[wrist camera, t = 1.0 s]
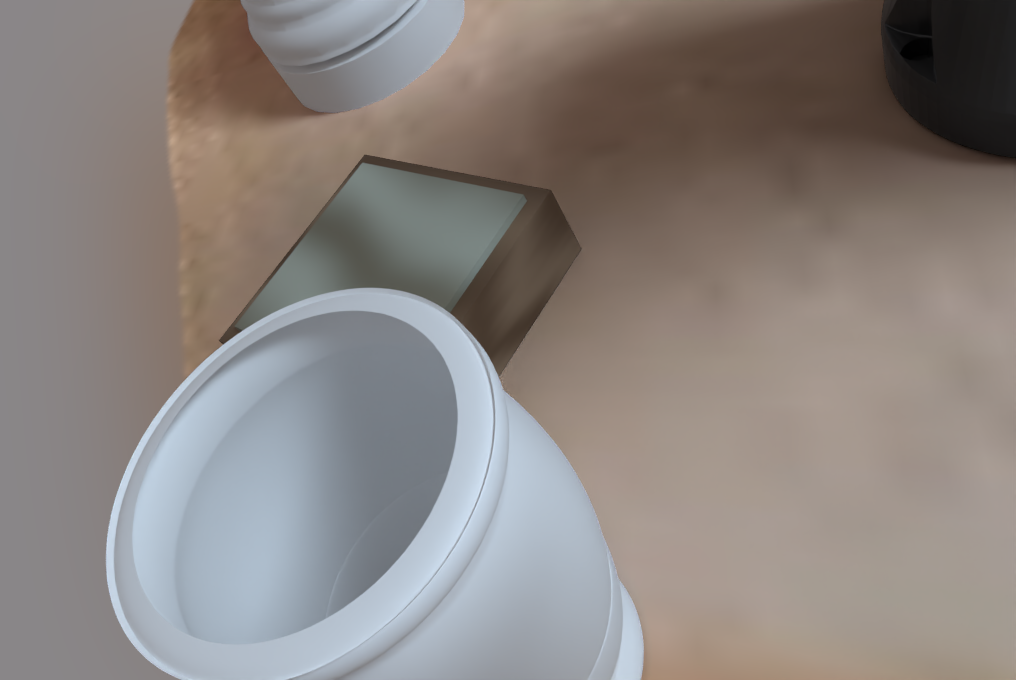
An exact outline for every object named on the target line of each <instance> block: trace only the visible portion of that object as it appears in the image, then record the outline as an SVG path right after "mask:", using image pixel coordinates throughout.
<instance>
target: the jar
mask: <svg viewBox="0 0 1016 680" xmlns="http://www.w3.org/2000/svg"><path fill="white" fill-rule="evenodd" d="M106 573H107V583H108V589H109V594H110V598H111V602H112V605H113V608H114V611H115V614H116V616H117V619H118V621H119V623H120V625H121V627H122V629H123V631H124V632H125V634H126V635H127V637H128V639H129V640H130V641H131V643H132V644H133V645H134V646H135V648H136V649H137V650H138V651H139V652H140V653H141V654H142V655H143V656H144V657H145V658H146V659H147V660H149V662H151V663H152V664H153V665H155V666H156V667H157V668H159V669H161V670H162V671H164V672H166V673H168V674H169V675H171V676H174V677H176V678H178V679H180V680H641V676H642V670H643V658H644V645H643V635H642V629H641V624H640V620H639V617H638V614H637V611H636V608H635V606H634V603H633V601H632V599H631V597H630V595H629V593H628V592H627V590H626V589H625V587H624V586H623V584H622V583H621V581H620V580H619V579H618V575H617V572H616V568H615V565H614V562H613V559H612V556H611V553H610V551H609V548H608V546H607V544H606V541H605V539H604V537H603V534H602V531H601V528H600V525H599V522H598V519H597V516H596V514H595V511H594V509H593V506H592V504H591V502H590V499H589V497H588V495H587V493H586V491H585V489H584V487H583V485H582V483H581V481H580V480H579V478H578V476H577V474H576V473H575V471H574V469H573V468H572V466H571V465H570V463H569V461H568V460H567V458H566V457H565V456H564V454H563V453H562V451H561V450H560V449H559V447H558V446H557V445H556V443H555V442H554V441H553V440H552V438H551V437H550V436H549V435H548V433H547V432H546V431H545V430H544V429H543V428H542V427H541V426H540V424H539V423H538V422H537V421H536V420H535V419H534V418H533V417H532V416H531V415H530V414H529V413H528V412H527V411H526V410H525V409H524V408H523V407H522V406H521V405H520V404H519V403H518V402H516V401H515V400H514V399H513V398H512V397H511V396H510V395H509V394H507V393H506V392H505V391H504V390H503V388H502V385H501V382H500V379H499V377H498V374H497V372H496V370H495V368H494V366H493V364H492V362H491V360H490V358H489V356H488V355H487V353H486V352H485V350H484V349H483V347H482V346H481V345H480V343H479V342H478V341H477V340H476V339H475V337H474V336H473V335H472V334H471V333H470V332H469V331H468V330H467V329H466V328H465V327H464V326H463V325H462V324H461V323H460V322H459V321H458V320H457V319H456V318H455V317H454V316H453V315H452V314H450V313H449V312H448V311H446V310H445V309H443V308H442V307H440V306H439V305H437V304H435V303H433V302H431V301H429V300H427V299H425V298H423V297H420V296H417V295H414V294H411V293H408V292H404V291H399V290H393V289H385V288H355V289H346V290H339V291H334V292H329V293H325V294H321V295H317V296H314V297H311V298H308V299H305V300H302V301H299V302H297V303H294V304H292V305H289V306H287V307H285V308H282V309H280V310H278V311H276V312H274V313H272V314H270V315H268V316H266V317H264V318H263V319H261V320H259V321H257V322H256V323H254V324H252V325H251V326H249V327H248V328H246V329H245V330H243V331H241V332H240V333H239V334H237V335H236V336H234V337H233V338H232V339H230V340H229V341H227V342H226V343H225V344H224V345H222V346H221V347H220V348H219V349H217V350H216V351H215V352H214V353H213V354H211V355H210V356H209V357H208V358H207V359H206V360H205V361H204V362H202V363H201V364H200V365H199V366H198V367H197V368H196V369H195V370H194V371H193V372H192V373H191V374H190V375H189V376H188V377H187V378H186V379H185V381H184V382H183V383H182V384H181V385H180V386H179V387H178V388H177V389H176V391H175V392H174V393H173V394H172V396H171V397H170V398H169V399H168V401H167V402H166V403H165V404H164V406H163V407H162V409H161V410H160V411H159V412H158V414H157V415H156V417H155V418H154V420H153V421H152V423H151V424H150V426H149V427H148V429H147V430H146V432H145V434H144V435H143V437H142V439H141V440H140V442H139V444H138V446H137V448H136V450H135V451H134V454H133V455H132V458H131V460H130V462H129V464H128V466H127V468H126V471H125V473H124V476H123V478H122V481H121V484H120V486H119V489H118V492H117V495H116V498H115V502H114V505H113V509H112V513H111V518H110V523H109V528H108V535H107V545H106Z"/></svg>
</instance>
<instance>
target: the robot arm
mask: <svg viewBox="0 0 1016 680" xmlns="http://www.w3.org/2000/svg"><path fill="white" fill-rule="evenodd" d="M881 35H882V44H883V53H884V62H885V70H886V75H887V79H888V82H889V85H890V87H891V89H892V91H893V93H894V95H895V97H896V98H897V100H898V101H899V103H900V104H901V105H902V106H903V108H904V109H905V110H906V111H907V112H908V113H909V114H910V115H911V116H912V117H913V118H915V119H916V120H917V121H918V122H919V123H921V124H922V125H924V126H925V127H927V128H928V129H930V130H931V131H933V132H935V133H937V134H938V135H940V136H942V137H944V138H946V139H949V140H951V141H953V142H956V143H958V144H961V145H963V146H966V147H970V148H973V149H976V150H980V151H983V152H987V153H992V154H996V155H1001V156H1007V157H1014V158H1016V0H885V1H884V4H883V10H882V20H881Z"/></svg>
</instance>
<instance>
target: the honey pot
mask: <svg viewBox="0 0 1016 680" xmlns="http://www.w3.org/2000/svg"><path fill="white" fill-rule="evenodd" d="M241 4H242V6H243V8H244V9H245V10H246V11H247V17H248V25H249V31H250V33H251V35H252V37H253V39H254V40H255V41H256V43H257V44H258V45H259V46H260V47H261V49H262V51H263V52H264V54H265V55H266V56H267V57H268V59H269V61H270V62H271V63H272V65H273V66H274V67H275V69H276V70H277V71H278V73H279V74H280V76H281V77H282V78H283V80H284V81H285V82H286V84H287V85H288V86H289V88H290V89H291V90H292V92H293V93H294V94H295V96H296V97H297V98H298V99H299V101H300V102H301V103H302V104H303V105H304V106H305V107H307V108H310V109H312V110H314V111H317V112H328V113H338V112H344V111H349V110H355V109H359V108H362V107H364V106H367V105H370V104H372V103H375V102H378V101H380V100H383V99H384V98H386V97H388V96H390V95H392V94H393V93H395V92H397V91H399V90H401V89H402V88H404V87H406V86H407V85H409V84H410V83H411V82H412V81H414V80H415V79H416V78H418V77H419V76H420V75H422V74H423V73H424V72H426V71H427V70H428V69H429V68H430V67H431V66H432V65H433V64H434V63H435V62H436V61H437V60H438V59H439V58H440V57H441V56H442V55H443V54H444V53H445V51H446V50H447V48H448V47H449V46H450V44H451V43H452V41H453V40H454V38H455V37H456V35H457V34H458V31H459V29H460V26H461V23H462V21H463V18H464V0H241Z"/></svg>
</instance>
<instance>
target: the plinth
mask: <svg viewBox="0 0 1016 680" xmlns="http://www.w3.org/2000/svg"><path fill="white" fill-rule="evenodd" d="M580 250H581V247H580V245H579V243H578V241H577V239H576V237H575V235H574V233H573V231H572V230H571V228H570V226H569V224H568V222H567V220H566V218H565V216H564V214H563V212H562V211H561V209H560V207H559V205H558V203H557V201H556V199H555V197H554V195H553V193H552V191H551V190H548V189H543V188H537V187H532V186H527V185H522V184H516V183H511V182H506V181H501V180H495V179H490V178H485V177H480V176H474V175H469V174H464V173H459V172H453V171H448V170H443V169H438V168H432V167H427V166H422V165H417V164H411V163H406V162H401V161H396V160H390V159H385V158H380V157H375V156H369V155H364V156H363V158H362V159H361V160H360V161H359V163H358V164H357V165H356V166H355V168H354V169H353V170H352V172H351V173H350V174H349V175H348V177H347V178H346V179H345V180H344V182H343V183H342V184H341V186H340V187H339V188H338V189H337V191H336V192H335V193H334V195H333V196H332V197H331V198H330V200H329V201H328V202H327V203H326V205H325V206H324V207H323V209H322V210H321V211H320V212H319V214H318V215H317V216H316V217H315V219H314V220H313V221H312V223H311V224H310V225H309V226H308V228H307V229H306V230H305V232H304V233H303V234H302V235H301V237H300V238H299V239H298V240H297V242H296V243H295V244H294V246H293V247H292V248H291V249H290V251H289V252H288V253H287V254H286V256H285V257H284V258H283V260H282V261H281V262H280V263H279V265H278V266H277V267H276V268H275V270H274V271H273V272H272V274H271V275H270V276H269V277H268V279H267V280H266V281H265V283H264V284H263V285H262V286H261V288H260V289H259V290H258V291H257V293H256V294H255V295H254V297H253V298H252V299H251V300H250V302H249V303H248V304H247V305H246V307H245V308H244V309H243V311H242V312H241V313H240V314H239V316H238V317H237V318H236V320H235V321H234V322H233V323H232V325H231V326H230V327H229V328H228V330H227V331H226V332H225V334H224V335H223V336H222V337H221V339H220V340H219V341H220V342H221V343H222V344H223V345H224V344H225V343H226V342H227V341H229V340H230V339H232V338H233V337H234V336H236V335H237V334H239V333H240V332H241V331H243V330H245V329H246V328H248V327H249V326H251V325H252V324H254V323H256V322H257V321H259V320H261V319H263V318H264V317H266V316H268V315H270V314H272V313H274V312H276V311H278V310H280V309H282V308H285V307H287V306H289V305H292V304H294V303H297V302H299V301H302V300H305V299H308V298H311V297H314V296H317V295H321V294H325V293H329V292H334V291H339V290H346V289H355V288H385V289H393V290H399V291H404V292H408V293H411V294H414V295H417V296H420V297H423V298H425V299H427V300H429V301H431V302H433V303H435V304H437V305H439V306H440V307H442V308H443V309H445V310H446V311H448V312H449V313H450V314H452V315H453V316H454V317H455V318H456V319H457V320H458V321H459V322H460V323H461V324H462V325H463V326H464V327H465V328H466V329H467V330H468V331H469V332H470V333H471V334H472V335H473V336H474V337H475V339H476V340H477V341H478V342H479V343H480V345H481V346H482V347H483V349H484V350H485V352H486V353H487V355H488V356H489V358H490V360H491V362H492V364H493V366H494V368H495V370H496V372H497V374H498V377H499V376H500V374H501V372H502V371H503V369H504V368H505V366H506V365H507V363H508V362H509V360H510V359H511V357H512V355H513V354H514V352H515V351H516V349H517V348H518V346H519V345H520V343H521V341H522V340H523V338H524V337H525V335H526V334H527V332H528V331H529V329H530V328H531V326H532V324H533V323H534V321H535V320H536V318H537V317H538V315H539V314H540V312H541V311H542V309H543V307H544V306H545V304H546V303H547V301H548V300H549V298H550V297H551V295H552V294H553V292H554V290H555V289H556V287H557V286H558V284H559V283H560V281H561V280H562V278H563V277H564V275H565V273H566V272H567V270H568V269H569V267H570V266H571V264H572V263H573V261H574V260H575V258H576V256H577V255H578V253H579V252H580Z"/></svg>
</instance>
